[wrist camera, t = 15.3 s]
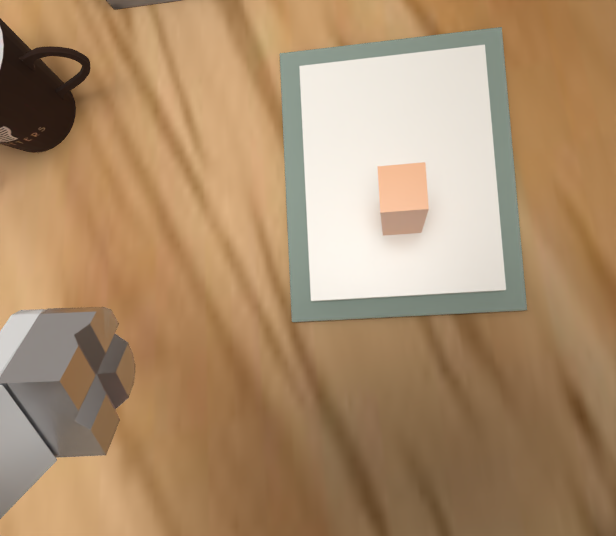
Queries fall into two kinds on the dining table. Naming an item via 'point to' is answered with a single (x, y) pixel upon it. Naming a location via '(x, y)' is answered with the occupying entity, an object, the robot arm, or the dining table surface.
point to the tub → (134, 3)
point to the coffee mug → (34, 94)
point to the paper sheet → (401, 176)
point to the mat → (505, 178)
